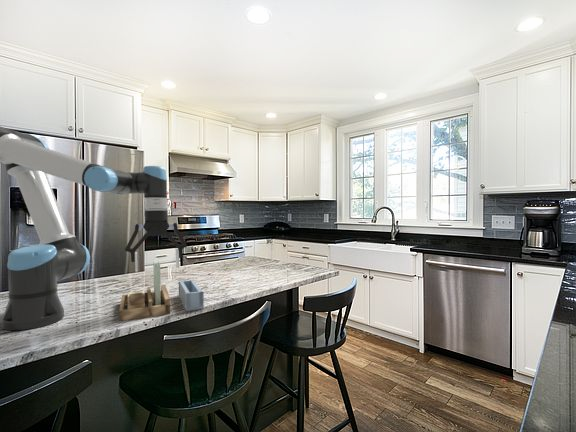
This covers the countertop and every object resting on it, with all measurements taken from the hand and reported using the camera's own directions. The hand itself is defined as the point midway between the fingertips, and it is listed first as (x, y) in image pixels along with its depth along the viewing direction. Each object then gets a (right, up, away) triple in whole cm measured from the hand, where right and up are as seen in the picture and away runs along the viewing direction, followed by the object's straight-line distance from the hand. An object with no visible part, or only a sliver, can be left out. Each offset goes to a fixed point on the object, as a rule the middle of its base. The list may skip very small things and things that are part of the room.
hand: (157, 269), depth 110 cm
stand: (+10, -13, +5) cm, 17 cm away
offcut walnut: (-4, -10, -8) cm, 13 cm away
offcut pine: (-8, -14, +1) cm, 16 cm away
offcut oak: (-4, -14, -7) cm, 16 cm away
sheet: (0, -14, 0) cm, 14 cm away
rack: (-4, -13, -1) cm, 14 cm away
